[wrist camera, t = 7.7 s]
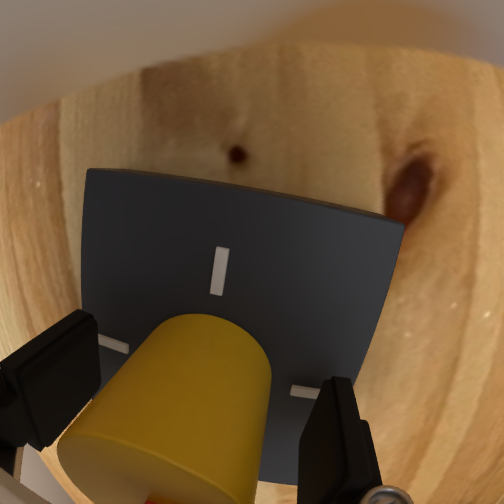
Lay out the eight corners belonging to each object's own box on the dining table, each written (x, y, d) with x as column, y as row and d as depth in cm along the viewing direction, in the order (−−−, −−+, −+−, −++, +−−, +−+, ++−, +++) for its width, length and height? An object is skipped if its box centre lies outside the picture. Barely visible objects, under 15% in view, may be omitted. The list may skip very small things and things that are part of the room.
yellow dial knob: (145, 398, 10) (73, 509, 5) (148, 297, 9) (25, 406, 4) (257, 428, 10) (231, 564, 5) (285, 330, 9) (272, 497, 3)
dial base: (122, 168, 11) (83, 168, 9) (382, 214, 10) (408, 225, 8) (119, 404, 14) (96, 434, 12) (303, 450, 13) (303, 489, 11)
